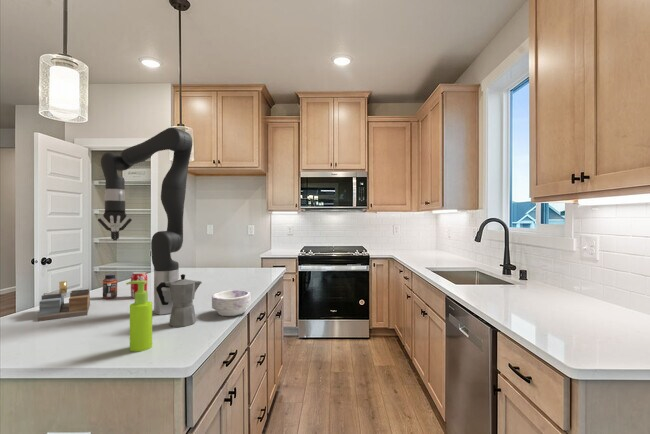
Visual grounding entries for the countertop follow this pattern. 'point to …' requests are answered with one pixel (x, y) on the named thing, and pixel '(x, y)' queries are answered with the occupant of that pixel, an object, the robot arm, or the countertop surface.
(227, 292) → the white marbled bowl
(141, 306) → the soap dispenser
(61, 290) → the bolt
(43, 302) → the block holder
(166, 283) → the coffeepot
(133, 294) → the soda can
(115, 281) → the supplement bottle
